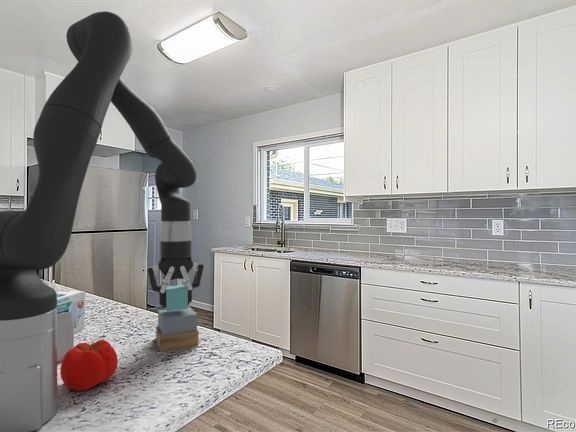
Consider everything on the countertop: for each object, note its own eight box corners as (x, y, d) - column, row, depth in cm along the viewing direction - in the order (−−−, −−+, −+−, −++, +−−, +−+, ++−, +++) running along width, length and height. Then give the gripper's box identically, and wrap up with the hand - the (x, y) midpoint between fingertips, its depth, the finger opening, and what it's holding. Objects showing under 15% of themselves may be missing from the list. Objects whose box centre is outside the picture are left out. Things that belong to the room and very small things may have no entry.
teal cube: (187, 308, 84) (187, 288, 84) (166, 311, 82) (166, 290, 82) (184, 303, 89) (184, 284, 89) (164, 306, 86) (164, 286, 86)
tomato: (50, 396, 60) (50, 354, 60) (80, 372, 69) (80, 336, 69) (103, 396, 60) (103, 354, 60) (126, 372, 69) (125, 336, 69)
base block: (198, 346, 83) (198, 330, 83) (159, 353, 79) (159, 336, 79) (191, 335, 91) (191, 320, 91) (156, 340, 87) (156, 325, 87)
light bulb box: (52, 342, 85) (52, 300, 85) (30, 340, 86) (30, 298, 86) (86, 328, 95) (86, 290, 95) (66, 326, 97) (66, 289, 96)
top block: (196, 330, 84) (197, 314, 84) (163, 335, 80) (163, 319, 80) (189, 321, 91) (189, 306, 91) (158, 325, 87) (158, 310, 87)
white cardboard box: (73, 357, 76) (73, 313, 76) (37, 367, 71) (37, 320, 71) (69, 352, 79) (68, 310, 79) (33, 361, 74) (33, 316, 74)
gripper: (146, 241, 78) (146, 313, 79) (207, 239, 85) (207, 305, 85) (144, 238, 85) (144, 305, 85) (200, 237, 92) (200, 299, 92)
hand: (175, 305), depth 85 cm, fingers closed on teal cube, 5 cm apart
